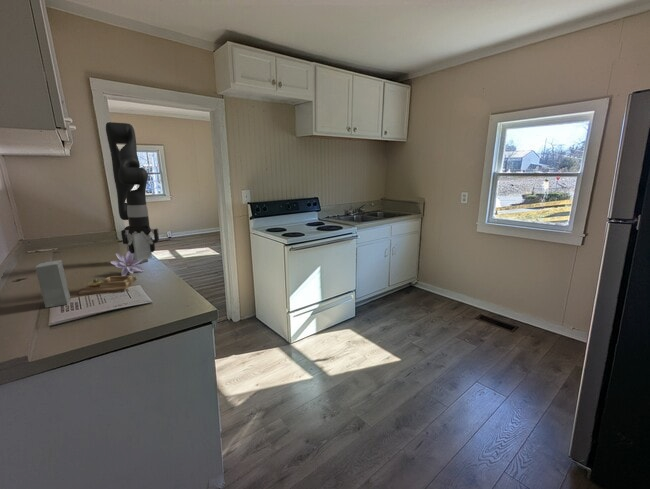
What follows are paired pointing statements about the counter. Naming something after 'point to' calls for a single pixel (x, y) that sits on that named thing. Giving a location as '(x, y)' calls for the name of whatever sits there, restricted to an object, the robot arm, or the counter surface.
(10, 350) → the counter surface
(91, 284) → the brass knob disc
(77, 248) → the counter surface
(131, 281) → the carrier board
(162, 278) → the counter surface
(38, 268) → the skincare box
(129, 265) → the water lily
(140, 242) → the skincare box
